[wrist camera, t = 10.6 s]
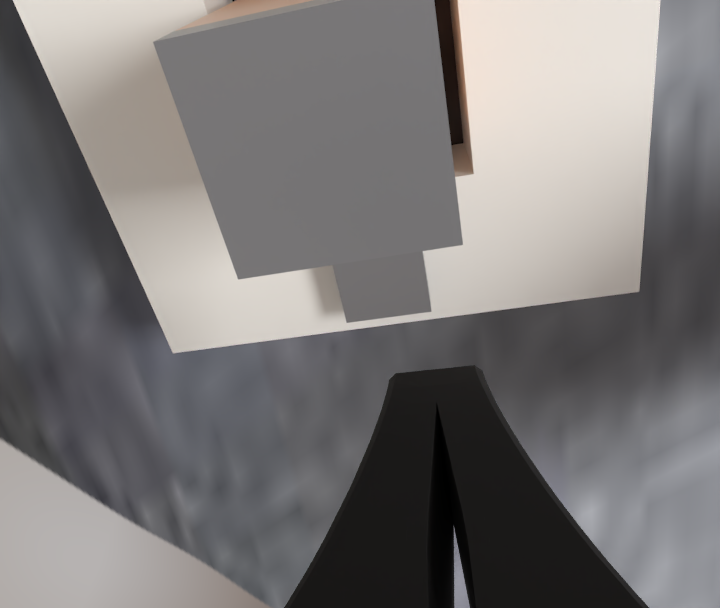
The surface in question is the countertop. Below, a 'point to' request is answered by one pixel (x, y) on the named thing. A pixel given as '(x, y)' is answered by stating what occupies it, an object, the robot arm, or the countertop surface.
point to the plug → (318, 129)
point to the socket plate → (471, 162)
